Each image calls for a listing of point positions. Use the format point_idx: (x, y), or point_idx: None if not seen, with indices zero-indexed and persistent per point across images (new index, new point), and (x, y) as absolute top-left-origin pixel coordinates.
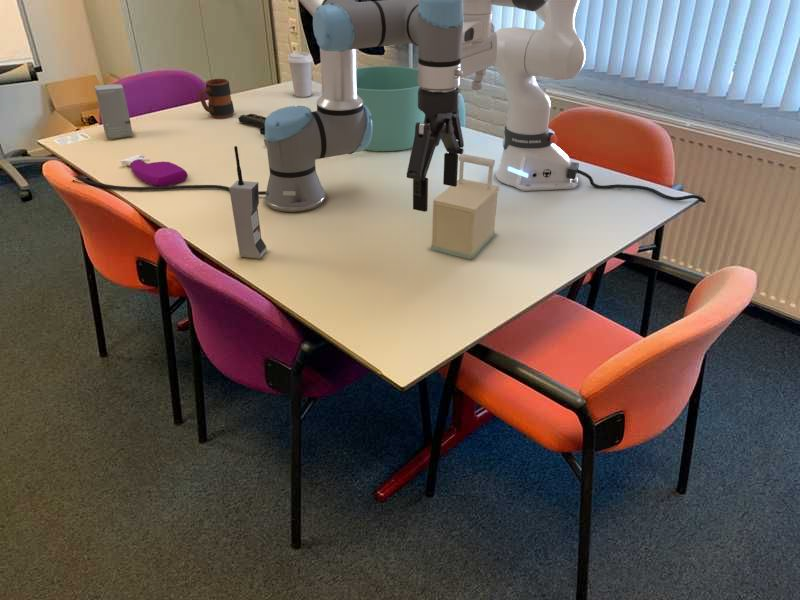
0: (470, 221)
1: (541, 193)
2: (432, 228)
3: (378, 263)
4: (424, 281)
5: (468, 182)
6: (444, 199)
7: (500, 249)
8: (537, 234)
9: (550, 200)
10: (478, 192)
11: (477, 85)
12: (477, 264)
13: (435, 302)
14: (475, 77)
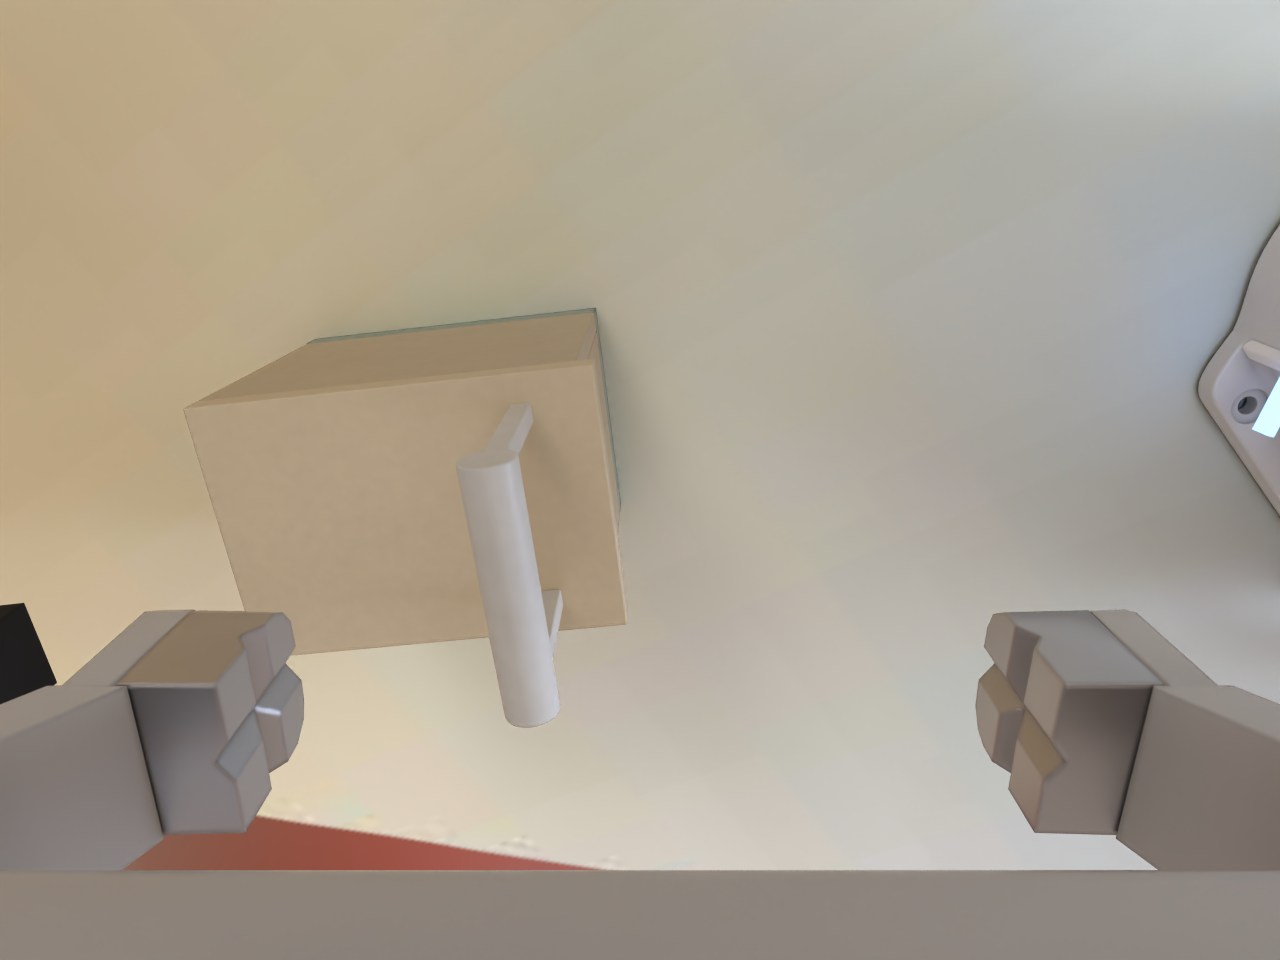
0: None
1: (1208, 481)
2: (268, 364)
3: (30, 202)
4: (82, 464)
5: (566, 447)
6: (240, 460)
7: None
8: (743, 645)
9: (1136, 552)
10: (468, 571)
11: (1015, 766)
12: None
13: (7, 576)
14: (1232, 746)
